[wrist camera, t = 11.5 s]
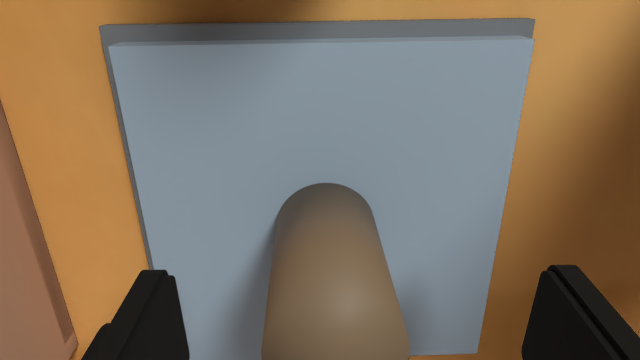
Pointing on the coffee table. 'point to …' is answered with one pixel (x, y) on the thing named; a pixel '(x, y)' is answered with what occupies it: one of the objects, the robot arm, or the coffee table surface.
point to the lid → (325, 188)
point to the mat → (292, 31)
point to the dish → (27, 272)
